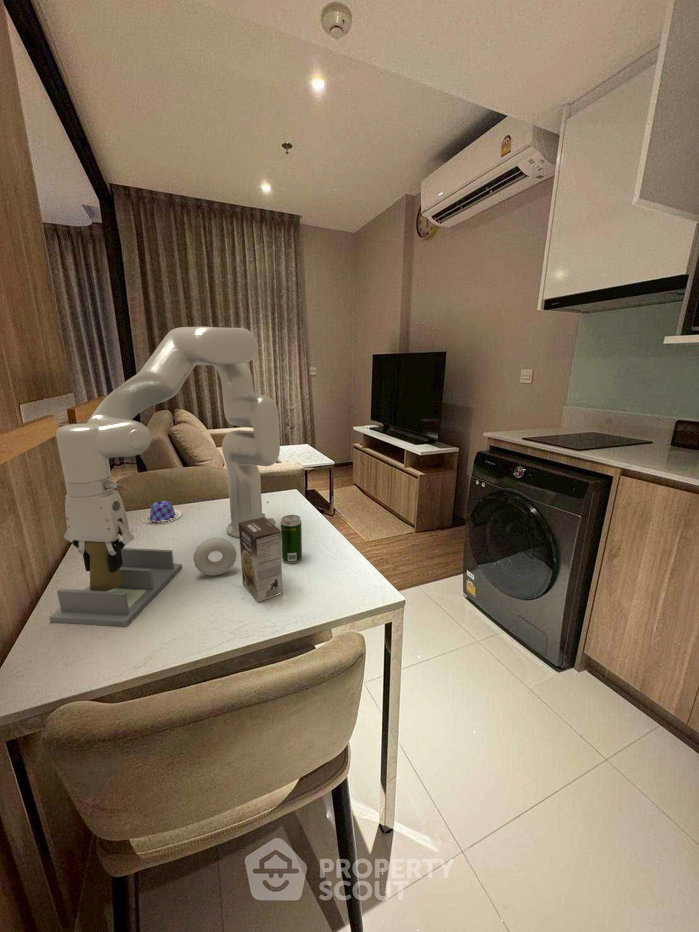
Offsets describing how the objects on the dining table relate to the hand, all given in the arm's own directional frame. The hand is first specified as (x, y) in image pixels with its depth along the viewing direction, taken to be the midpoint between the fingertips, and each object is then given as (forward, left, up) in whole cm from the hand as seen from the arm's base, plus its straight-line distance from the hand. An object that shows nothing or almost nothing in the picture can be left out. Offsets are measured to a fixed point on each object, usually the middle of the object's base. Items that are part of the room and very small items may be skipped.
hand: (104, 567), depth 78 cm
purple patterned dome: (+14, -46, -9) cm, 49 cm away
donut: (-18, -13, -9) cm, 24 cm away
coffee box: (-31, -8, -9) cm, 33 cm away
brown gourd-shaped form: (0, 0, -4) cm, 4 cm away
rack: (0, -4, -9) cm, 10 cm away
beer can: (-35, -22, -9) cm, 43 cm away
